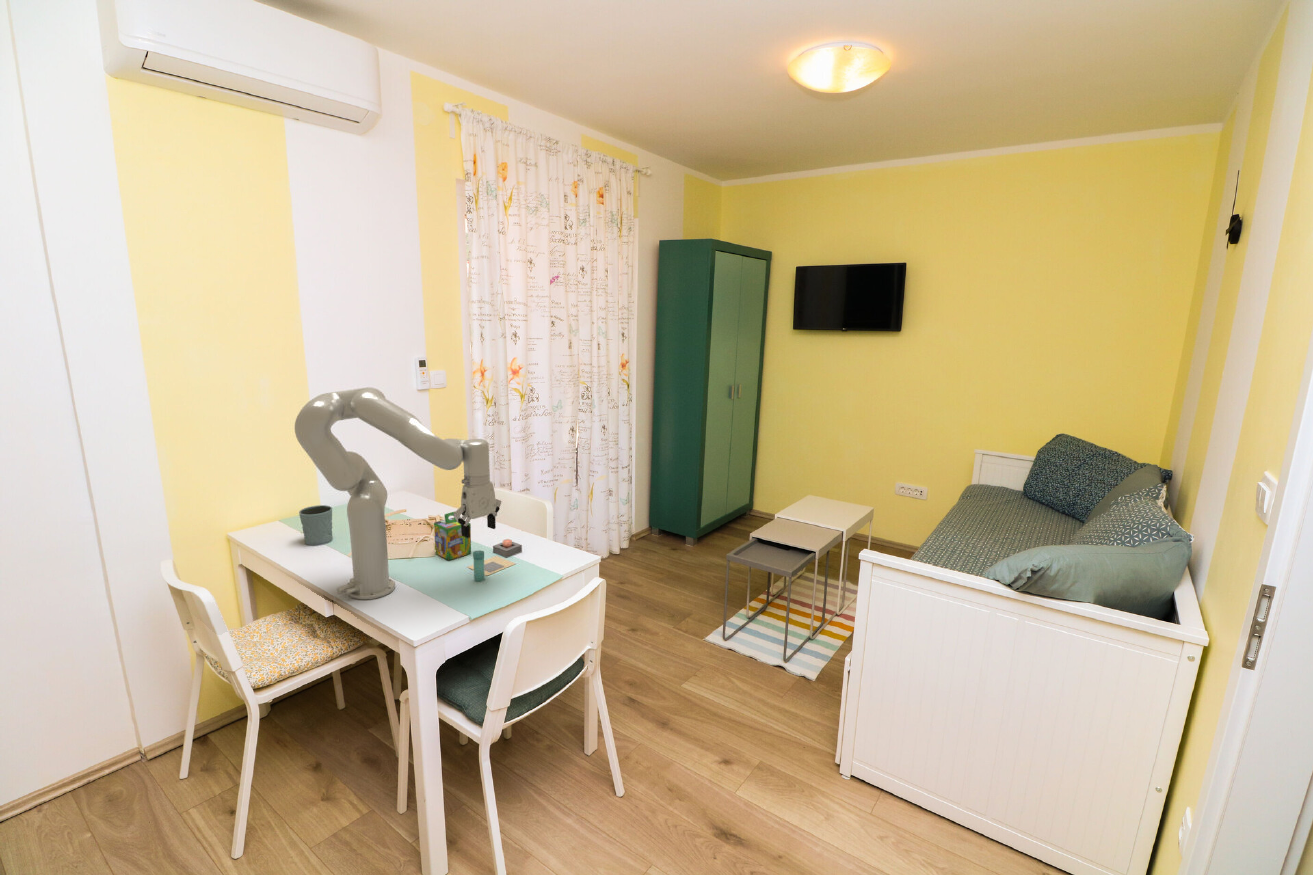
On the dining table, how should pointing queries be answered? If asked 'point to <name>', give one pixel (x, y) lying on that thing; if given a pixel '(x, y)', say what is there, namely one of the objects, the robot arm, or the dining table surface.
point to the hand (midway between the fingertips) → (479, 532)
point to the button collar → (507, 549)
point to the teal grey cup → (317, 524)
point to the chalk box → (451, 539)
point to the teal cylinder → (478, 565)
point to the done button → (507, 543)
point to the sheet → (494, 565)
